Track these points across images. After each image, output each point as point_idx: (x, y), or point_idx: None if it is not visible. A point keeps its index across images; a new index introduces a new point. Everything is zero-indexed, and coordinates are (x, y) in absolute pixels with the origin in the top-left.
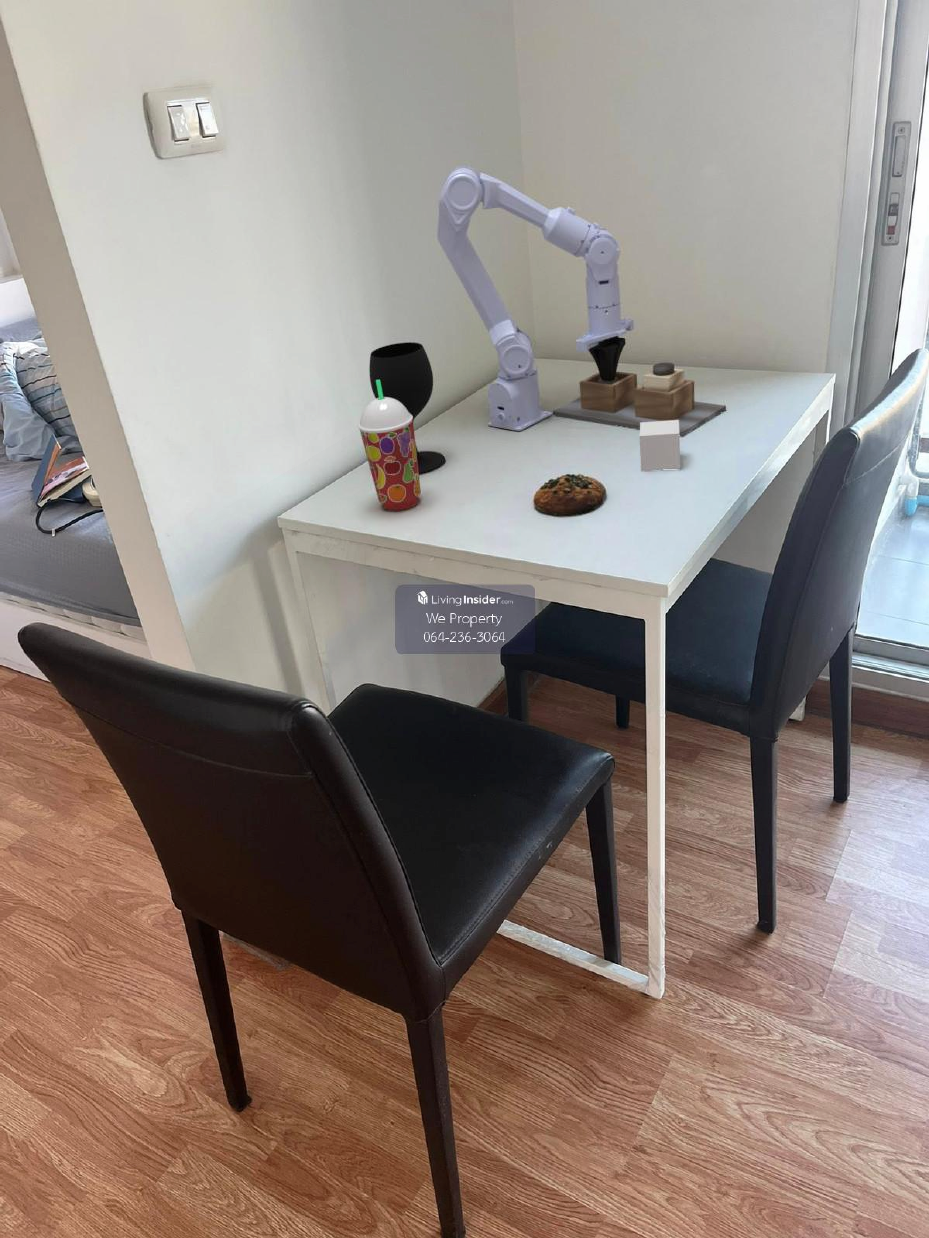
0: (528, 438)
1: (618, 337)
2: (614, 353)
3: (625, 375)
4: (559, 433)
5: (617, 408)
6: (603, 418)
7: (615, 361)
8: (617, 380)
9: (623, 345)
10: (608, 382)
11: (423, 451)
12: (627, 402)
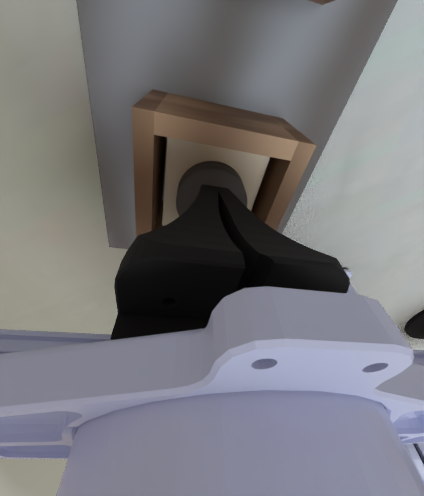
0: (387, 244)
1: (118, 316)
2: (253, 237)
3: (153, 161)
4: (374, 204)
5: (267, 116)
6: (324, 132)
7: (218, 213)
8: (208, 169)
9: (162, 236)
10: (244, 190)
11: (411, 328)
12: (213, 104)
